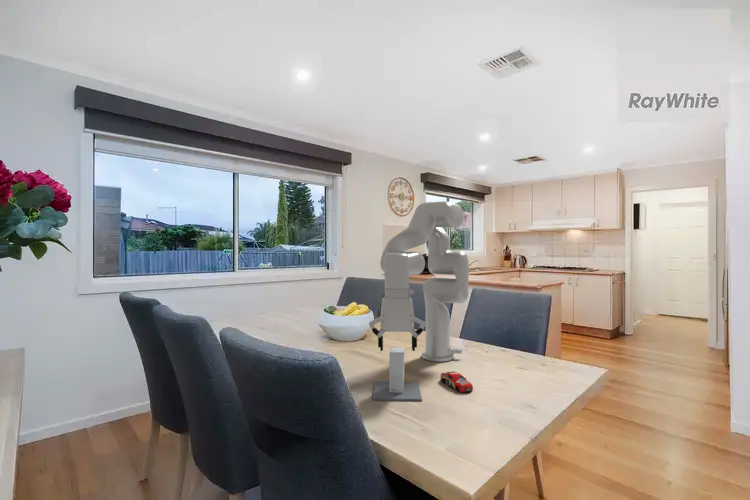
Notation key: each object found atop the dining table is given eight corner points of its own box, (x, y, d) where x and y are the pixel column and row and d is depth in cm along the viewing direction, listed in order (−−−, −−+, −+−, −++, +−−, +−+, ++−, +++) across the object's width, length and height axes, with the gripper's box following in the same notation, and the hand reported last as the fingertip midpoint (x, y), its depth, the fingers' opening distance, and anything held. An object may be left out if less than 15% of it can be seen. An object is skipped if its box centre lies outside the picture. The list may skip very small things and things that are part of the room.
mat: (418, 383, 123) (418, 381, 123) (421, 401, 109) (421, 398, 109) (374, 383, 123) (374, 381, 123) (372, 400, 109) (372, 398, 109)
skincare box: (403, 393, 113) (403, 352, 113) (388, 392, 113) (389, 352, 113) (404, 386, 119) (404, 347, 119) (390, 385, 120) (390, 347, 119)
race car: (476, 393, 116) (476, 380, 116) (460, 395, 114) (460, 382, 114) (452, 379, 128) (452, 367, 128) (438, 381, 126) (438, 369, 126)
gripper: (424, 291, 120) (424, 346, 120) (369, 292, 120) (369, 346, 121) (426, 295, 112) (427, 353, 112) (367, 295, 113) (368, 353, 113)
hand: (397, 349), depth 117 cm, fingers open, 9 cm apart
